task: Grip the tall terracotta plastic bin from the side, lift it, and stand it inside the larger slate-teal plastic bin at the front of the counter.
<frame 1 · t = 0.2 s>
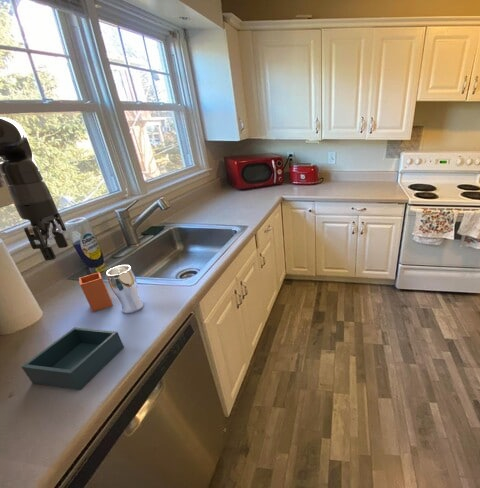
hand: (57, 253, 81), 23 cm above the countertop, tool pointing down, fingers open, 8 cm apart
small bin: (102, 304, 97), on the countertop
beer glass: (133, 308, 95), on the countertop
big bin: (81, 363, 74), on the countertop
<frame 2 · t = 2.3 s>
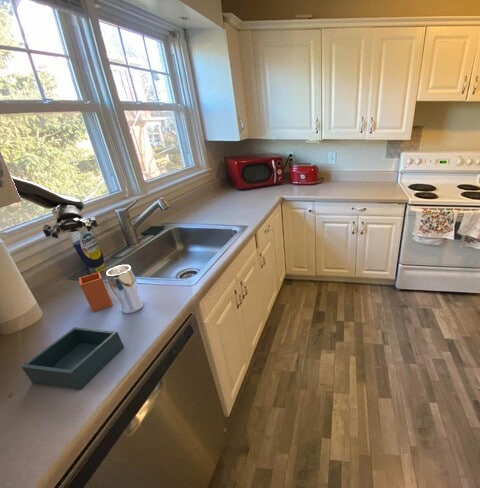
hand: (72, 232, 94), 24 cm above the countertop, tool horizontal, fingers open, 8 cm apart
nothing on the countertop moved.
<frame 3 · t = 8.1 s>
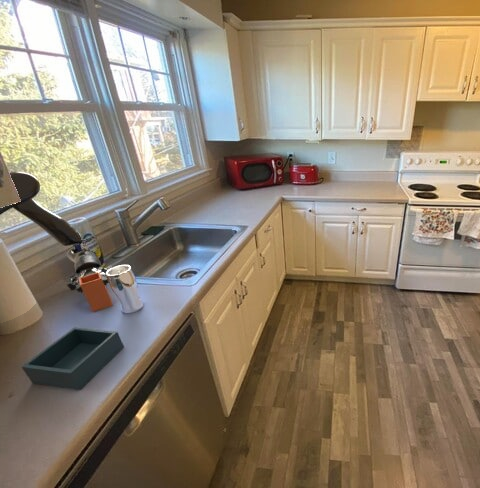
hand: (93, 286, 91), 9 cm above the countertop, tool horizontal, fingers closed on small bin, 5 cm apart
small bin: (102, 304, 97), on the countertop, touching gripper
everything else where it was.
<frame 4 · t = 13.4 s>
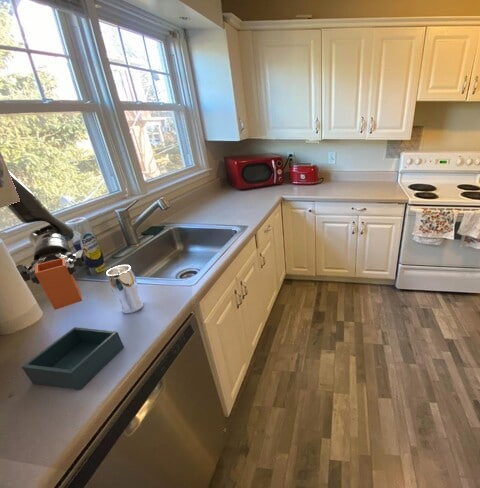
hand: (54, 275, 69), 24 cm above the countertop, tool horizontal, fingers closed on small bin, 5 cm apart
small bin: (68, 300, 75), point 15 cm above the countertop, touching gripper
everything else where it was.
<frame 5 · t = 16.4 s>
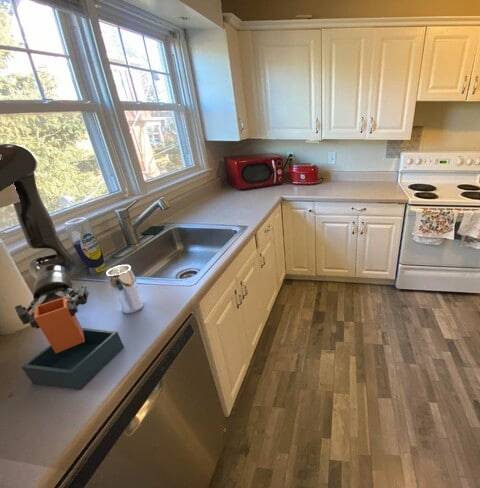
hand: (54, 318, 65), 17 cm above the countertop, tool horizontal, fingers closed on small bin, 5 cm apart
small bin: (70, 341, 71), point 8 cm above the countertop, touching gripper
everything else where it was.
when the fingers open (10 cm above the countertop, at t = 18.9 s): small bin stays where it is, resting on big bin.
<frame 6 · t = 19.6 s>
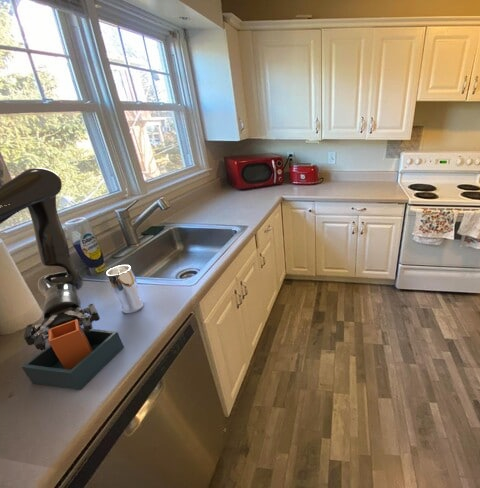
hand: (65, 338, 68), 11 cm above the countertop, tool horizontal, fingers open, 8 cm apart
small bin: (80, 361, 74), point 1 cm above the countertop, touching big bin
everything else where it was.
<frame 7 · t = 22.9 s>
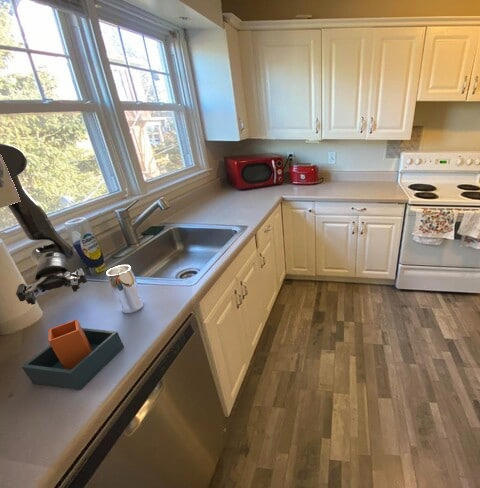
hand: (53, 294, 75), 16 cm above the countertop, tool horizontal, fingers open, 8 cm apart
nothing on the countertop moved.
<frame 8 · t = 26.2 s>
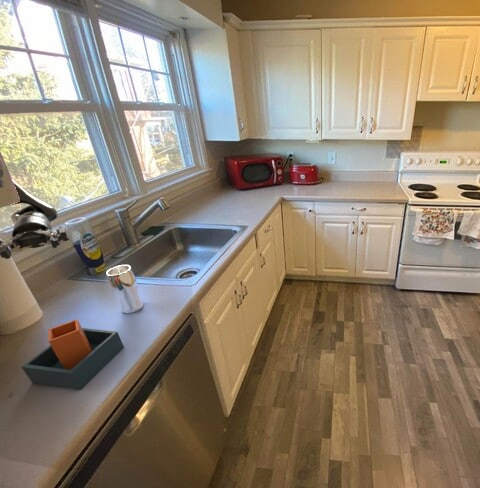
hand: (30, 249, 69), 30 cm above the countertop, tool horizontal, fingers open, 8 cm apart
nothing on the countertop moved.
at the end: small bin inside the target area in the big bin (0.1 cm from its centre), point 0.8 cm above the big bin's base; small bin tilted 0° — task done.
